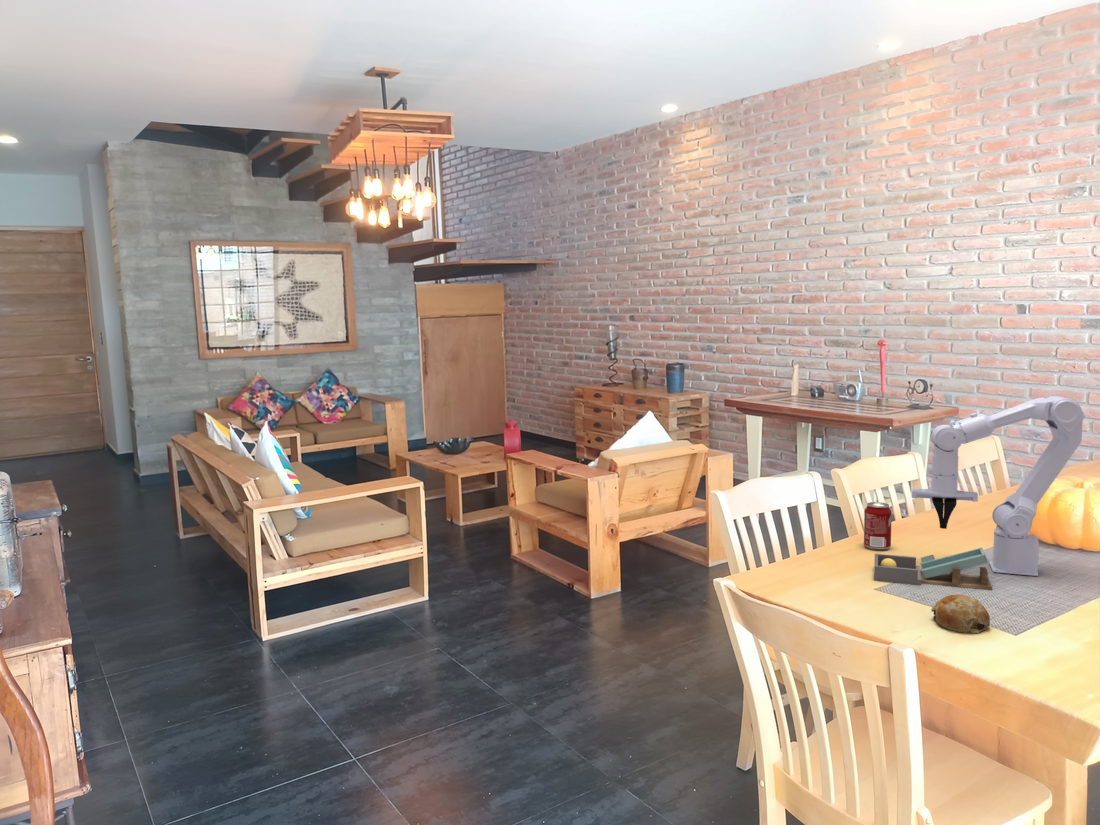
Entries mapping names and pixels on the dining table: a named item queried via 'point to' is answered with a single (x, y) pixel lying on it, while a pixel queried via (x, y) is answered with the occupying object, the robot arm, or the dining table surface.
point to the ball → (888, 563)
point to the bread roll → (961, 614)
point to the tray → (897, 570)
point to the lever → (952, 562)
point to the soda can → (877, 526)
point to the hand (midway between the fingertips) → (943, 527)
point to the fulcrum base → (960, 579)
